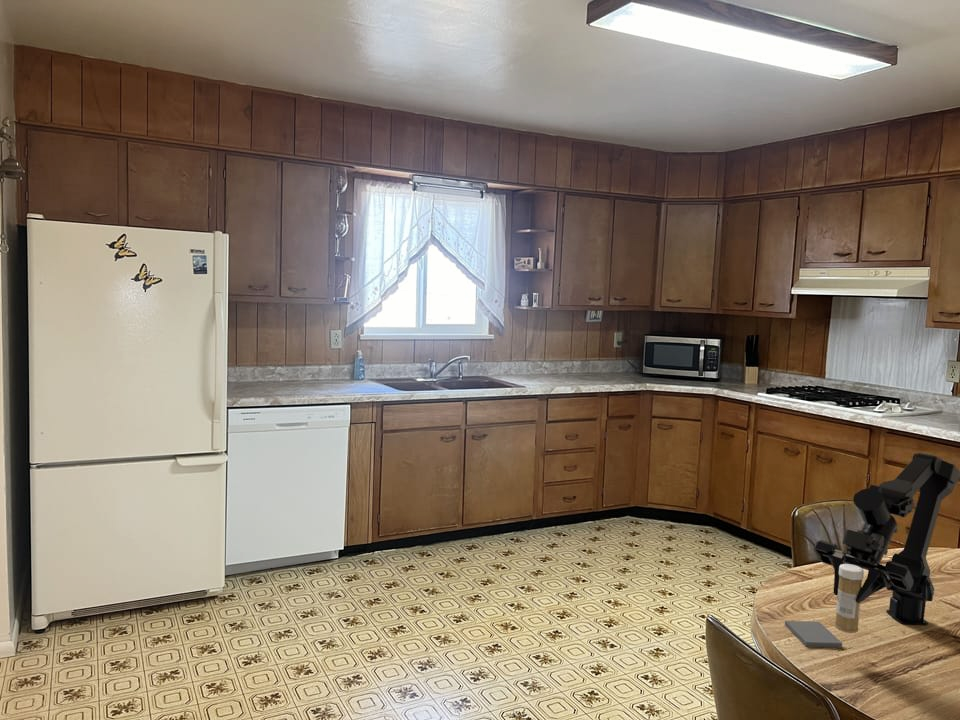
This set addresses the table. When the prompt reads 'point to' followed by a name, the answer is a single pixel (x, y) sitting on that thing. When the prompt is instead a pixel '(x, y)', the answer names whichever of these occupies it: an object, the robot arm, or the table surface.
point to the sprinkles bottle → (848, 598)
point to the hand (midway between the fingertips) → (845, 598)
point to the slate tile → (813, 634)
